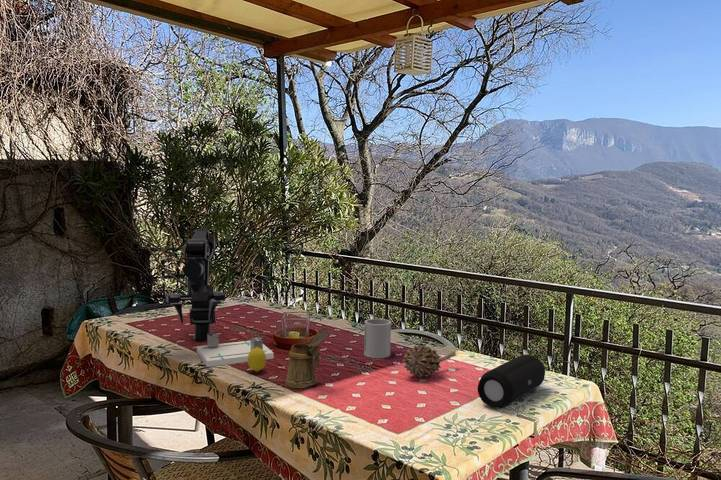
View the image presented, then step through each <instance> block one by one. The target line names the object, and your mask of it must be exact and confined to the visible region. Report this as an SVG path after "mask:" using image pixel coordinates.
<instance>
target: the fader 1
mask: <svg viewBox="0 0 721 480" xmlns="http://www.w3.org/2000/svg"><path fill="white" fill-rule="evenodd" d="M219 339H220V338H219V334H218V332H210V334H207V341H206V343H207V345H208V346H209V347H210V348H214V347H219V344H220V341H219Z"/></svg>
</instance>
